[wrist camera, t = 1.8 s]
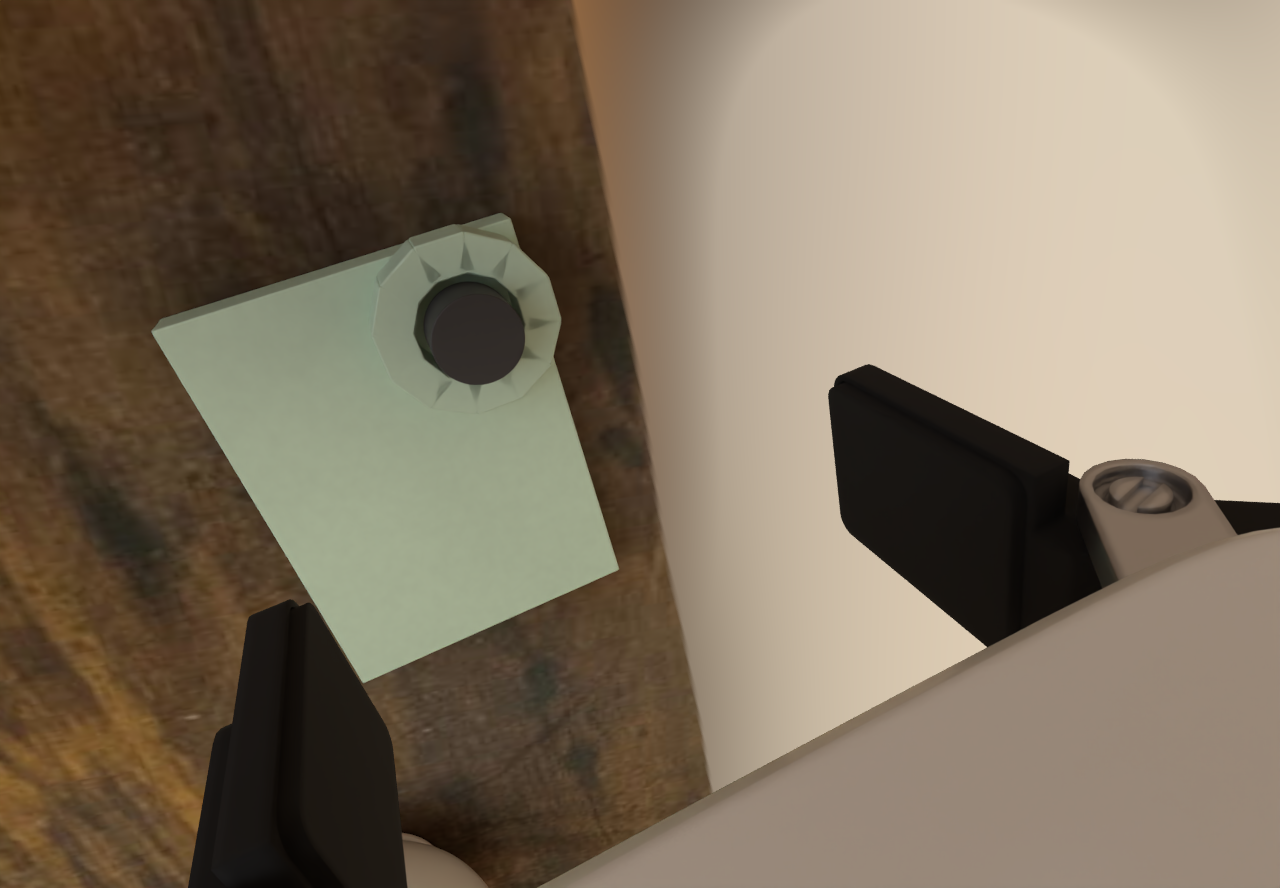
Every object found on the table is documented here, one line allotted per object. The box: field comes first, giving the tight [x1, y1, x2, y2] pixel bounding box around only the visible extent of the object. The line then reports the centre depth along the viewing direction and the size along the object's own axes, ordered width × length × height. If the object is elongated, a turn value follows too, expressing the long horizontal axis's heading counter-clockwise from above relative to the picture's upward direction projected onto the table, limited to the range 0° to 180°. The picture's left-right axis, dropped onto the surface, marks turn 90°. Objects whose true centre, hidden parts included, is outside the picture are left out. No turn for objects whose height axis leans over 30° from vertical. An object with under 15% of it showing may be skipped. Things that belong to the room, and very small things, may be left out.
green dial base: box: [152, 213, 619, 683], centre depth 26 cm, size 15×11×3 cm
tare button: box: [423, 281, 525, 385], centre depth 22 cm, size 3×3×2 cm
